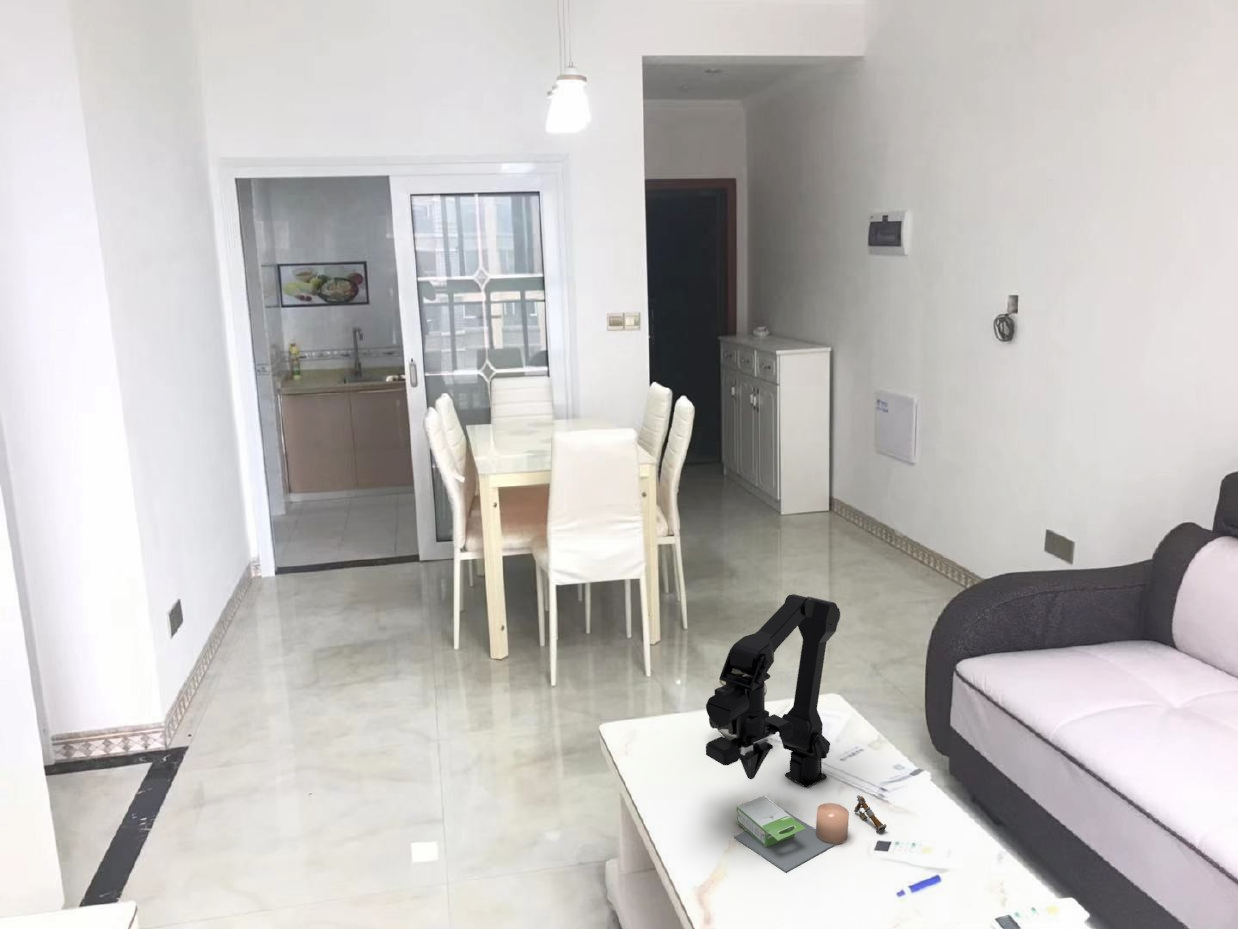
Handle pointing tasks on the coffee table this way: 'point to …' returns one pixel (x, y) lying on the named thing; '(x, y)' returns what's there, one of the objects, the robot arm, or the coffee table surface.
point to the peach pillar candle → (832, 823)
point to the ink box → (766, 821)
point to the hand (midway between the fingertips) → (750, 778)
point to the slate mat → (788, 847)
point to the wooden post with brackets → (870, 814)
